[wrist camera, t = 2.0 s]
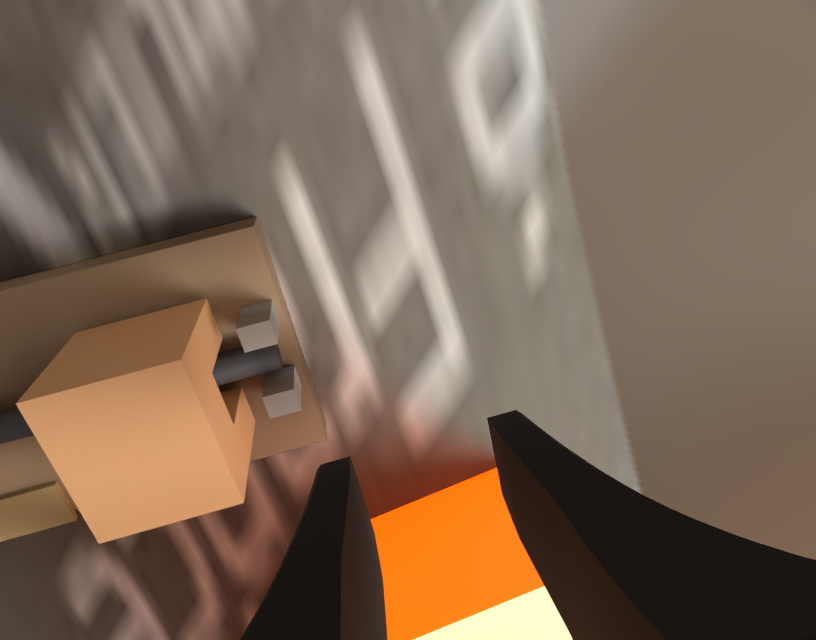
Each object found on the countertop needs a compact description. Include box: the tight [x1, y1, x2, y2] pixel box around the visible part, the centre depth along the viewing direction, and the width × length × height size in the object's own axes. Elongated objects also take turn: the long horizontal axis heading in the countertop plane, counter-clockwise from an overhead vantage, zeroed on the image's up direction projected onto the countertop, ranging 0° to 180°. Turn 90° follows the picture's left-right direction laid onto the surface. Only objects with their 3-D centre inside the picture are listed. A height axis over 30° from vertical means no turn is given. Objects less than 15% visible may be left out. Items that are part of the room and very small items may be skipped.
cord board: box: [0, 217, 327, 542], centre depth 18 cm, size 9×17×5 cm, turn 102°
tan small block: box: [16, 298, 255, 544], centre depth 17 cm, size 5×4×4 cm
